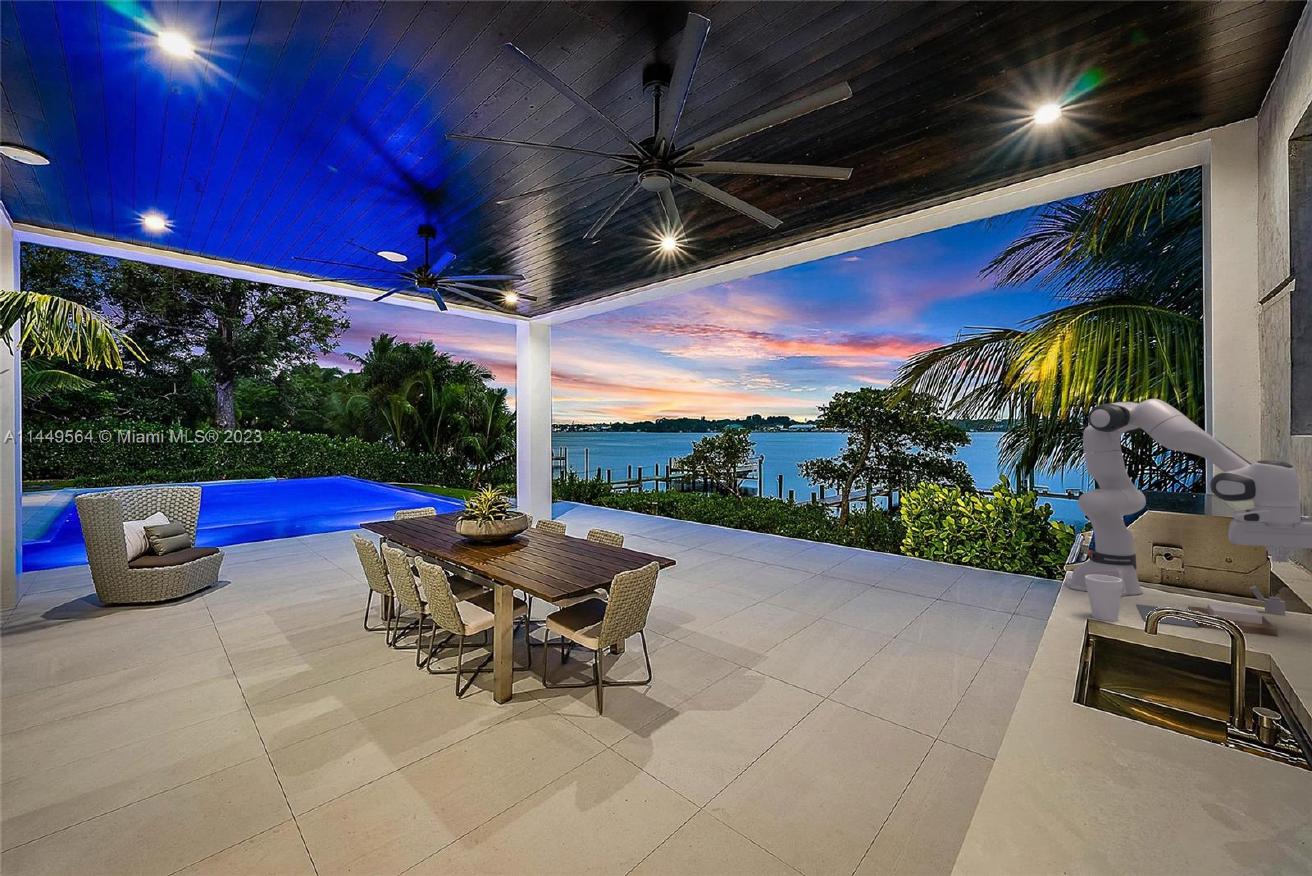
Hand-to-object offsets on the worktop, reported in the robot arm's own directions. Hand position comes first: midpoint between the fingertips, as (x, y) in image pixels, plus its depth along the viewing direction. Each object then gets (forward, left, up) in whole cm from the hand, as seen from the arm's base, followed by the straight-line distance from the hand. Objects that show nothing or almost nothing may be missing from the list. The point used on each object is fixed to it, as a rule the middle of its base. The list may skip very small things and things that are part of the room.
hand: (1280, 561), depth 154 cm
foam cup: (-41, -10, -21) cm, 47 cm away
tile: (-10, 0, -18) cm, 21 cm away
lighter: (+1, +18, -21) cm, 27 cm away
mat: (-26, 0, -20) cm, 33 cm away
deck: (-11, 0, -20) cm, 23 cm away
